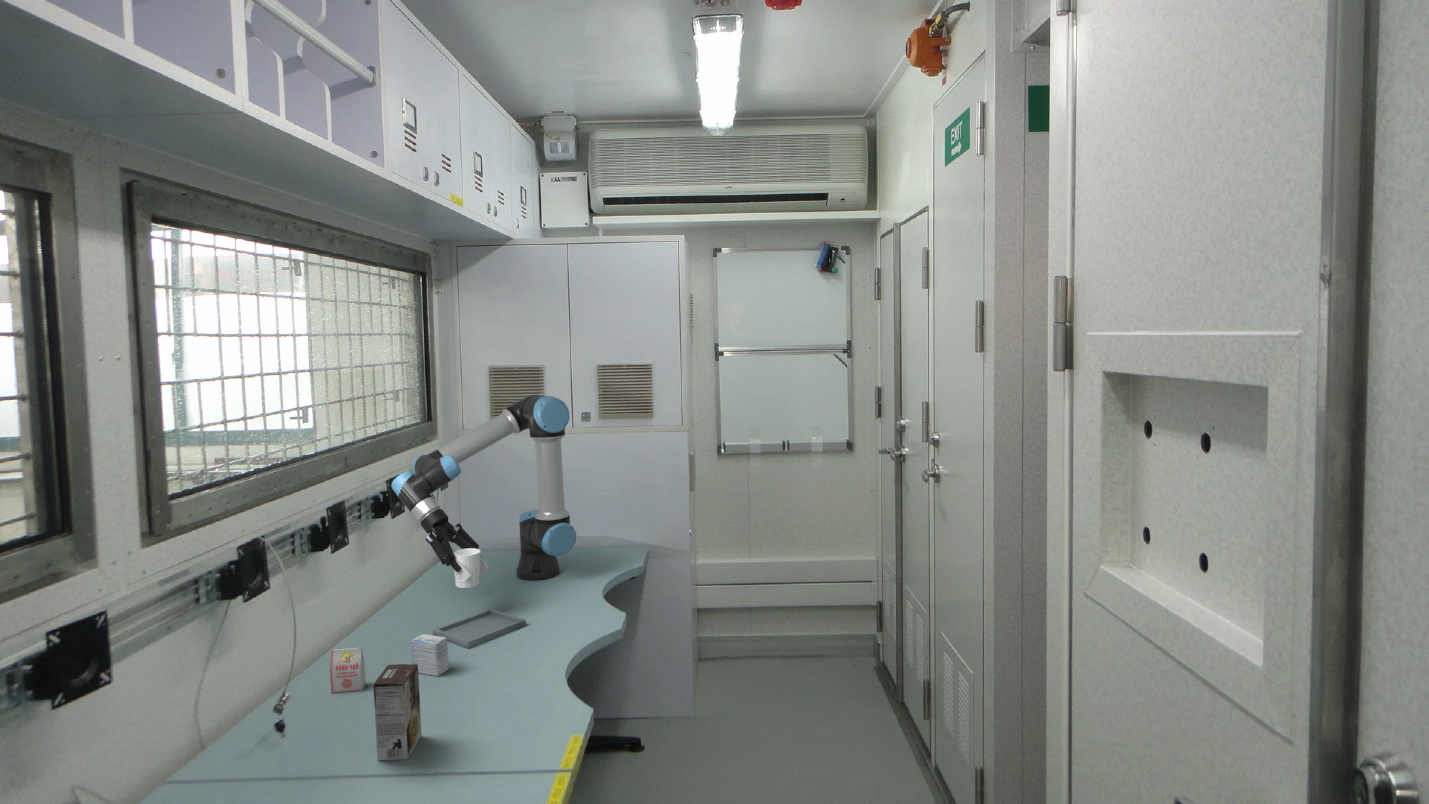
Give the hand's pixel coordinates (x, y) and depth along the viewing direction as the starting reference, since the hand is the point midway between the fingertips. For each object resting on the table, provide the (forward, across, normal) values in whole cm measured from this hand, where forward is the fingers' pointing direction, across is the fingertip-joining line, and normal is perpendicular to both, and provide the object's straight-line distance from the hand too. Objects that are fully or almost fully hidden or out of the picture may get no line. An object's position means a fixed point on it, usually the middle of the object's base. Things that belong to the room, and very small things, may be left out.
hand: (477, 574), depth 223 cm
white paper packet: (+8, +46, -13) cm, 48 cm away
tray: (+14, +5, -7) cm, 16 cm away
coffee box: (+30, +64, +9) cm, 71 cm away
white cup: (0, 0, -5) cm, 5 cm away
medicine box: (+17, +32, -4) cm, 36 cm away
